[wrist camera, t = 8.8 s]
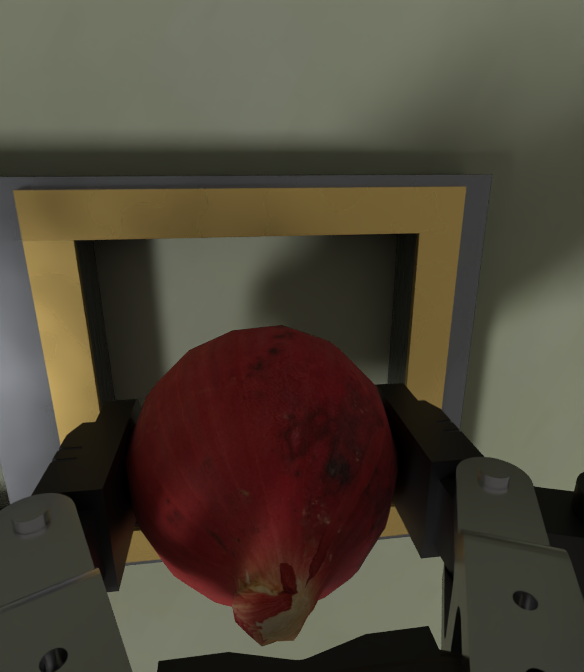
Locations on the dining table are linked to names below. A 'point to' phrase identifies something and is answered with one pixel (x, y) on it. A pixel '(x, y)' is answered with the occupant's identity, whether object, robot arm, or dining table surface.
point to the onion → (263, 473)
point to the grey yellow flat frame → (202, 222)
